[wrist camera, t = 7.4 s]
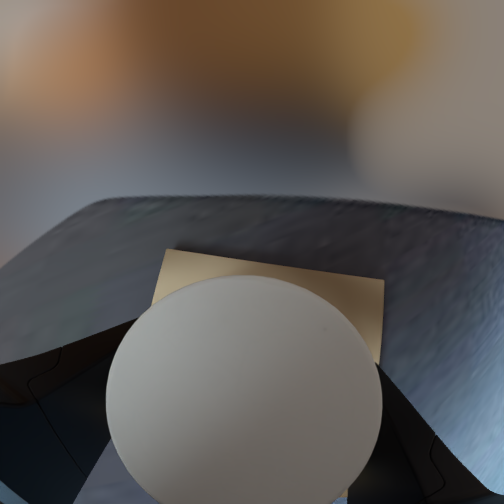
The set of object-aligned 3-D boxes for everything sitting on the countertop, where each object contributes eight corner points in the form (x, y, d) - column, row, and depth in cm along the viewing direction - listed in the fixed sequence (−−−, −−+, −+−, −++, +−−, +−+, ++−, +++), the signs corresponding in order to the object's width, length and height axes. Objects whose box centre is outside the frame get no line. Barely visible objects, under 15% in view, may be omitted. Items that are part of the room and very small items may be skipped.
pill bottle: (300, 317, 16) (373, 205, 5) (323, 426, 13) (438, 504, 3) (186, 337, 15) (62, 262, 5) (205, 447, 13) (114, 555, 3)
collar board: (349, 492, 13) (358, 504, 11) (128, 455, 14) (114, 462, 12) (379, 283, 18) (391, 273, 16) (170, 253, 19) (161, 240, 18)
